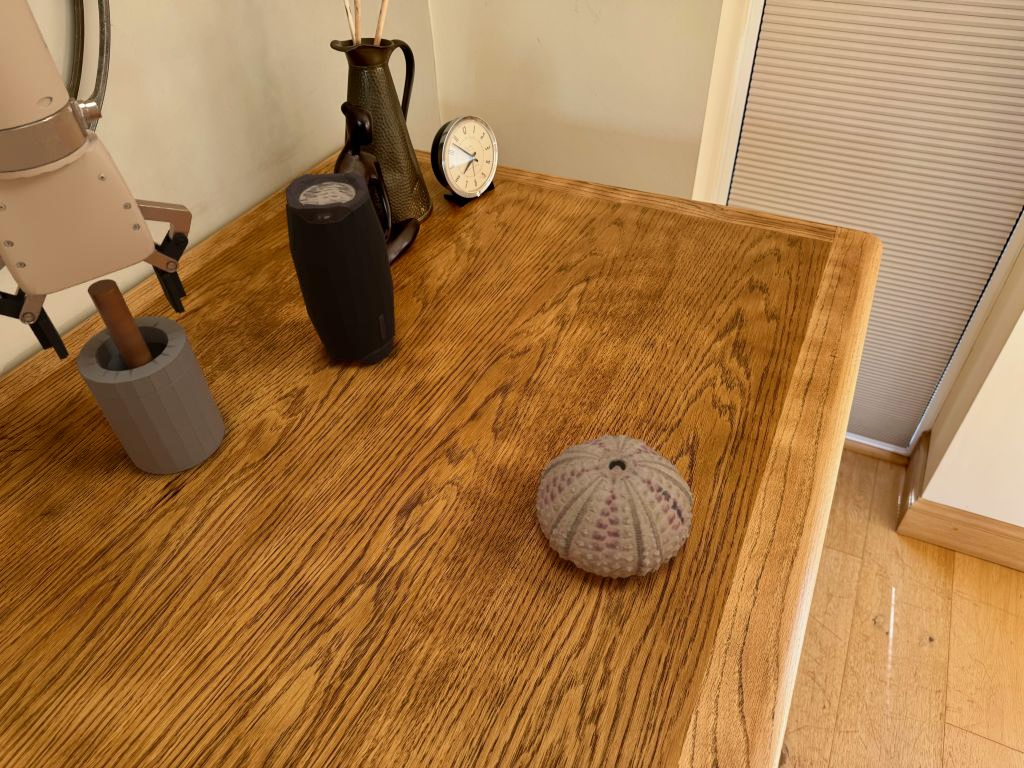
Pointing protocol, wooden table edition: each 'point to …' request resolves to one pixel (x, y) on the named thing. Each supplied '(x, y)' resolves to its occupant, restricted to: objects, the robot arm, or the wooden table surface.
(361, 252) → the portable speaker
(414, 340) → the wooden table surface
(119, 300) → the brown pestle
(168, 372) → the hollow cylinder
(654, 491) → the sea urchin shell
